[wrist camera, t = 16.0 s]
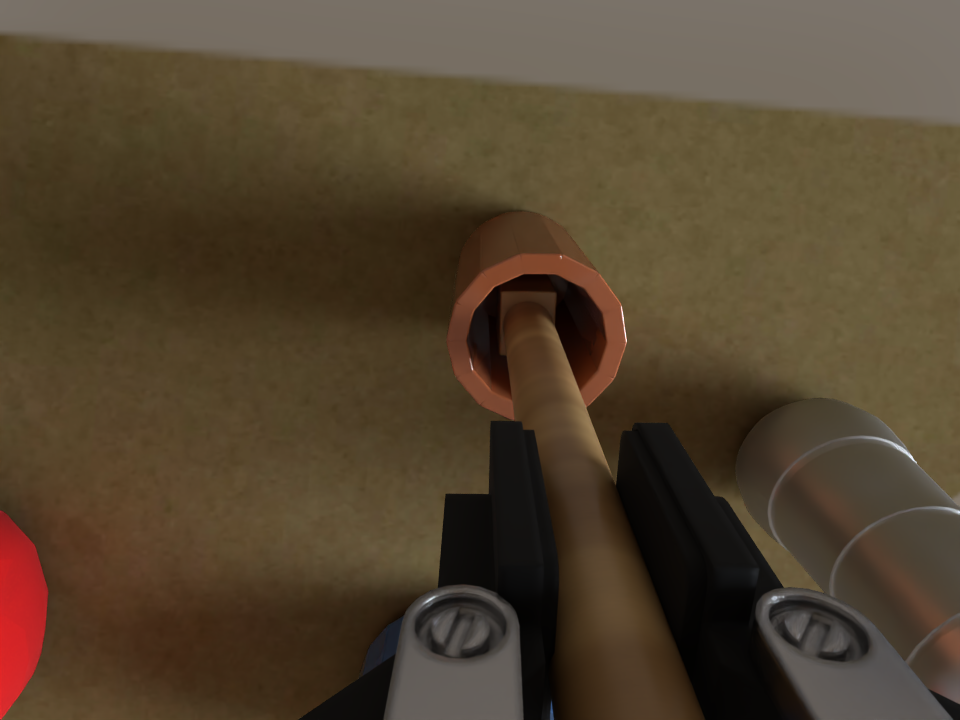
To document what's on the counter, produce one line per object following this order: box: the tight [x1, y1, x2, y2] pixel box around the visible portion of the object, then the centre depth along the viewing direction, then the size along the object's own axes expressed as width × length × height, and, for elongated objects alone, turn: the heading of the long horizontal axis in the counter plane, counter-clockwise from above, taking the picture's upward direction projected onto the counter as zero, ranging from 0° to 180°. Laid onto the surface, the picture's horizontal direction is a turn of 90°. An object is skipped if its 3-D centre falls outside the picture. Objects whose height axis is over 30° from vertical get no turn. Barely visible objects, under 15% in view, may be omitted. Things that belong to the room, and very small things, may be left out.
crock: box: [446, 211, 627, 421], centre depth 24 cm, size 5×5×9 cm
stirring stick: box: [496, 274, 705, 720], centre depth 15 cm, size 2×2×19 cm
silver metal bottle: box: [735, 398, 960, 704], centre depth 21 cm, size 6×7×20 cm
